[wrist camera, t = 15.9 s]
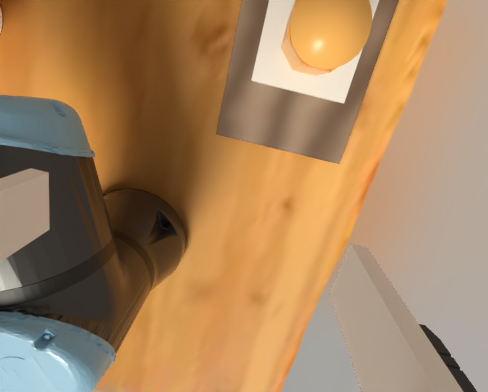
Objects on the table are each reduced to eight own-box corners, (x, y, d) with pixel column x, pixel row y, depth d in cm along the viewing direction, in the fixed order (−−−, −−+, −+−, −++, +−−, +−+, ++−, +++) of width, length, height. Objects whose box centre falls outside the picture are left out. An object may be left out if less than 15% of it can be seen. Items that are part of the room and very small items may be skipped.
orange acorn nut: (276, 66, 29) (281, 58, 22) (292, 0, 27) (303, -33, 20) (331, 80, 29) (355, 76, 22) (351, 15, 27) (385, -12, 20)
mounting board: (217, 132, 37) (216, 134, 36) (263, -103, 29) (263, -113, 28) (336, 161, 38) (339, 164, 36) (415, -63, 29) (423, -70, 28)
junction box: (252, 81, 34) (249, 78, 25) (275, -19, 30) (280, -61, 22) (335, 101, 34) (359, 106, 25) (366, 4, 30) (407, -28, 22)
